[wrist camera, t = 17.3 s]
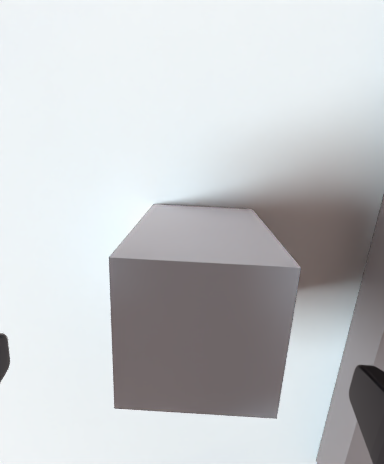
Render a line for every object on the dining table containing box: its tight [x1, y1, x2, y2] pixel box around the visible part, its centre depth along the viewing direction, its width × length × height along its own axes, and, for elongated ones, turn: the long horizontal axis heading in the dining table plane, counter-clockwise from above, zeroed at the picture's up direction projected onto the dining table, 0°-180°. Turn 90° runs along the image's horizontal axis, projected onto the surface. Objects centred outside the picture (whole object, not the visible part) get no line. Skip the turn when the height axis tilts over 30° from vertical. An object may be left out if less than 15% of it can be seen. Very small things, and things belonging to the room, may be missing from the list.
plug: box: [109, 204, 301, 419], centre depth 10 cm, size 4×4×6 cm
